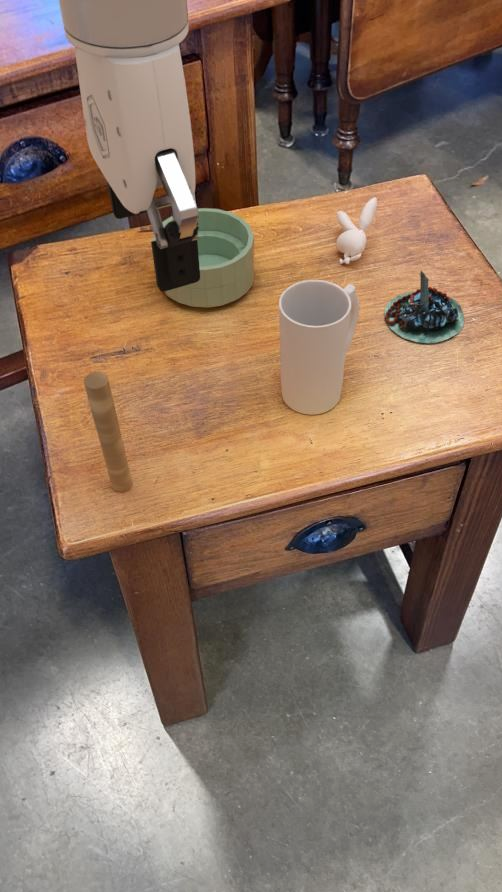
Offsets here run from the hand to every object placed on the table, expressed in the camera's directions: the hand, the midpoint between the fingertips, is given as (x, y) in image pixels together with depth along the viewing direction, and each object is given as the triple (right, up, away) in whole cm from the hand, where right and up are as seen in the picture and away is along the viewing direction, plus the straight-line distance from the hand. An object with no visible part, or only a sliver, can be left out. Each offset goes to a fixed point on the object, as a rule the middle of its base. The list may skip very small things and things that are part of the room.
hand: (155, 247), depth 63 cm
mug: (+14, -7, +24) cm, 29 cm away
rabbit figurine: (+18, +12, +39) cm, 44 cm away
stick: (-6, -18, +16) cm, 25 cm away
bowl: (+1, +7, +34) cm, 35 cm away
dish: (+26, +2, +31) cm, 40 cm away
